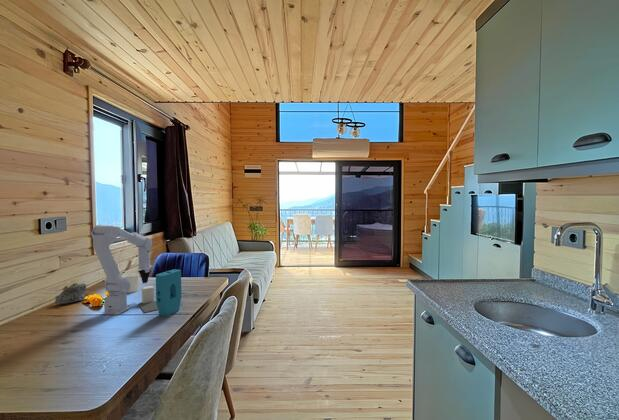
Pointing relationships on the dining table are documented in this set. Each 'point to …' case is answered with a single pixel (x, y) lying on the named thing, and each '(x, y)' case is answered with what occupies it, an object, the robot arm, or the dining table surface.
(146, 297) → the block
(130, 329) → the dining table surface
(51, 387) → the dining table surface
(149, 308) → the mat
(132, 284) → the white cup
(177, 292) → the block
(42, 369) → the dining table surface
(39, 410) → the dining table surface
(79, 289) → the mineral rock
